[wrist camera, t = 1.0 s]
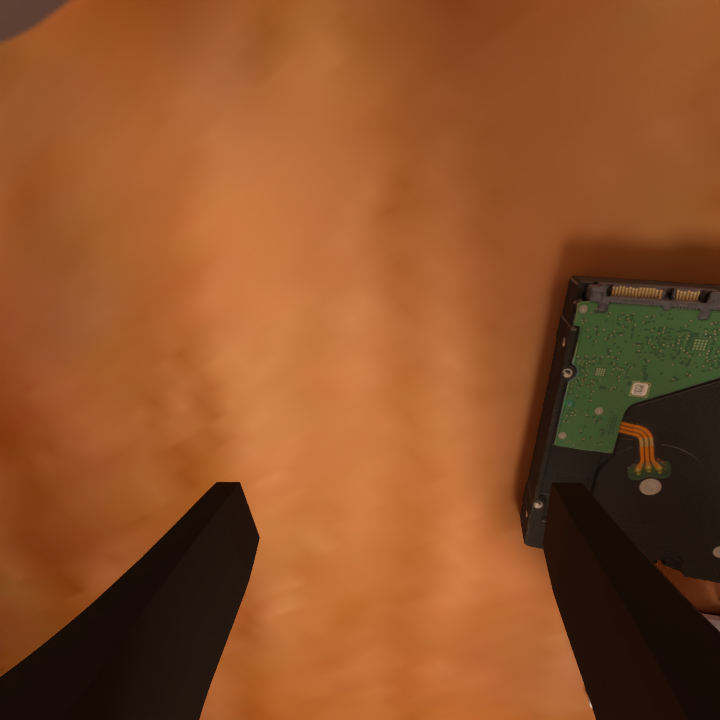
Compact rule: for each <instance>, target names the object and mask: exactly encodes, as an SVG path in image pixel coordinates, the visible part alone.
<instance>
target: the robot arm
mask: <svg viewBox="0 0 720 720" xmlns="http://www.w3.org/2000/svg"><path fill="white" fill-rule="evenodd" d="M259 538H260V537H259V534H258V531H257V529H256V526H255V523H254V520H253V517H252V515H251V512H250V509H249V506H248V503H247V501H246V498H245V495H244V492H243V489H242V487H241V484H240V482H216V483H215V484H214V485H213V486H212V487H211V488H210V489H209V490H208V491H207V492H206V493H205V494H204V495H203V496H202V497H201V498H200V499H199V500H198V501H197V502H196V503H195V504H194V506H193V507H192V508H191V509H190V510H189V511H188V512H187V513H186V514H185V515H184V516H183V517H182V518H181V519H180V520H179V521H178V522H177V523H176V524H175V525H174V526H173V527H172V528H171V529H170V530H169V531H168V532H167V533H166V534H165V535H164V536H163V537H162V538H161V539H160V540H159V541H158V542H157V543H156V544H155V545H154V546H153V547H152V548H151V549H150V550H149V551H148V552H147V553H146V554H145V555H144V556H143V557H142V558H141V559H140V560H139V561H137V562H136V563H135V564H134V565H133V566H132V567H131V568H130V569H129V570H128V571H127V572H126V573H125V574H123V575H122V576H121V577H120V578H119V579H118V580H117V581H116V582H115V583H114V584H113V585H112V586H111V587H109V588H108V589H107V590H106V591H105V592H104V593H103V594H102V595H101V596H100V597H99V598H98V599H96V600H95V601H94V602H93V603H92V604H91V605H90V606H89V607H87V608H86V609H85V610H84V611H83V612H82V613H80V614H79V615H78V616H77V617H76V618H75V619H73V620H72V621H71V622H70V623H69V624H67V625H66V626H65V627H64V628H63V629H61V630H60V631H59V632H58V633H56V634H55V635H54V636H53V637H52V638H50V639H49V640H48V641H47V642H45V643H44V644H43V645H42V646H41V647H39V648H38V649H37V650H36V651H34V652H33V653H32V654H30V655H29V656H28V657H27V658H25V659H24V660H23V661H21V662H20V663H19V664H17V665H16V666H15V667H13V668H12V669H11V670H9V671H8V672H7V673H5V674H4V675H3V676H1V677H0V720H199V719H200V715H201V712H202V708H203V705H204V702H205V699H206V696H207V693H208V690H209V687H210V684H211V682H212V679H213V676H214V674H215V671H216V668H217V666H218V663H219V660H220V658H221V655H222V652H223V650H224V647H225V644H226V642H227V639H228V636H229V634H230V631H231V628H232V626H233V623H234V620H235V618H236V615H237V612H238V610H239V607H240V604H241V601H242V599H243V596H244V593H245V590H246V588H247V585H248V582H249V579H250V575H251V571H252V567H253V564H254V560H255V555H256V551H257V547H258V542H259ZM543 549H544V553H545V558H546V563H547V567H548V572H549V576H550V580H551V584H552V589H553V593H554V596H555V599H556V602H557V605H558V608H559V611H560V614H561V617H562V620H563V623H564V626H565V629H566V632H567V635H568V638H569V641H570V644H571V647H572V650H573V653H574V655H575V658H576V661H577V664H578V667H579V670H580V673H581V676H582V679H583V682H584V685H585V688H586V691H587V694H588V701H589V705H590V707H591V708H593V711H594V714H595V717H596V720H720V616H717V615H709V614H702V613H701V612H700V611H698V610H697V609H696V608H695V607H694V606H693V604H692V603H691V602H690V601H689V600H688V599H687V598H686V597H685V596H684V595H683V594H682V593H681V592H680V591H679V590H678V589H677V588H676V587H675V586H674V585H673V584H672V583H671V582H670V581H669V580H668V578H667V577H666V576H665V575H664V574H663V573H662V572H661V571H660V570H659V569H658V568H657V567H656V566H655V565H654V563H653V562H652V561H651V560H650V559H649V558H648V557H647V556H646V555H645V554H644V553H643V552H642V551H641V549H640V548H639V547H638V546H637V545H636V544H635V543H634V542H633V541H632V539H631V538H630V537H629V536H628V535H627V534H626V533H625V531H624V530H623V529H622V528H621V527H620V526H619V525H618V523H617V522H616V521H615V520H614V519H613V518H612V516H611V515H610V514H609V513H608V512H607V511H606V509H605V508H604V507H603V506H602V505H601V504H600V502H599V501H598V500H597V499H596V498H595V496H594V495H593V494H592V493H591V492H590V490H589V489H588V488H587V487H586V486H585V485H584V484H583V483H552V484H551V491H550V497H549V504H548V511H547V517H546V524H545V531H544V537H543Z"/></svg>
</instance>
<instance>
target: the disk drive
mask: <svg viewBox="0 0 720 720" xmlns="http://www.w3.org/2000/svg"><path fill="white" fill-rule="evenodd" d="M556 338H557V342H556V346H555V352H554V357H553V361H552V367H551V372H550V375H549V381H548V386H547V391H546V395H545V399H544V404H543V410H542V414H541V419H540V424H539V429H538V434H537V439H536V444H535V449H534V453H533V459H532V463H531V467H530V472H529V477H528V481H527V482H526V487H525V492H524V497H523V506H522V510H521V511H522V513H521V515H520V518H521V526H522V533H523V538H524V543H525V544H526V545H527V546H531V547H536V548H542V549H543V537H544V531H545V524H546V517H547V511H548V504H549V497H550V491H551V484H552V483H583V484H584V485H585V486H586V487H587V488H588V489H589V490H590V492H591V493H592V494H593V495H594V496H595V498H596V499H597V500H598V501H599V502H600V504H601V505H602V506H603V507H604V508H605V509H606V511H607V512H608V513H609V514H610V515H611V516H612V518H613V519H614V520H615V521H616V522H617V523H618V525H619V526H620V527H621V528H622V529H623V530H624V531H625V533H626V534H627V535H628V536H629V537H630V538H631V539H632V541H633V542H634V543H635V544H636V545H637V546H638V547H639V548H640V549H641V551H642V552H643V553H644V554H645V555H646V556H647V557H648V558H649V559H650V560H651V561H652V562H653V563H654V564H656V563H657V560H658V559H659V560H660V561H661V562H662V564H663V565H665V566H669V567H671V568H672V569H675V570H679V571H681V573H682V574H683V575H684V576H685V577H691V578H696V579H701V580H708V581H712V582H717V583H720V285H714V284H685V283H678V282H665V281H649V280H631V279H616V278H597V277H583V276H573V277H571V278H570V280H569V285H568V290H567V295H566V299H565V304H564V309H563V314H562V316H561V318H560V321H559V328H558V331H557V337H556Z"/></svg>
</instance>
